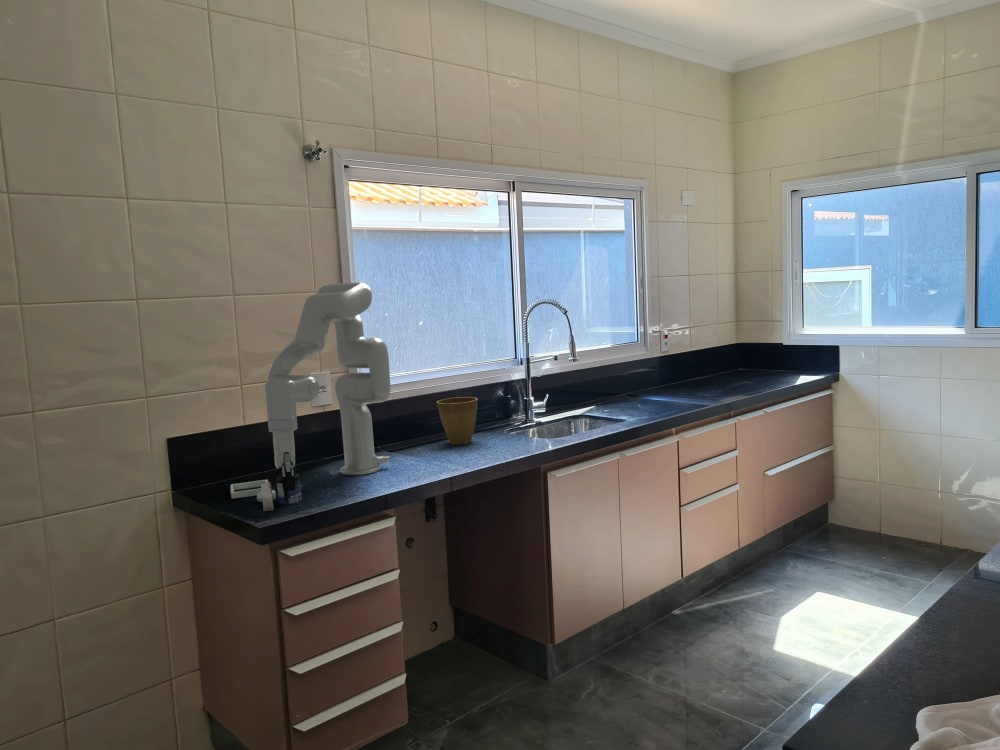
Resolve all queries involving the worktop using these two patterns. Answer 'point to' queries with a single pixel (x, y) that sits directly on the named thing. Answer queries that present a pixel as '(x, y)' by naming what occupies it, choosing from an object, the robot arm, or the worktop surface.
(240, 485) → the pale green square frame
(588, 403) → the worktop surface
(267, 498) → the crank
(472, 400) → the plant pot
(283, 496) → the pill bottle
